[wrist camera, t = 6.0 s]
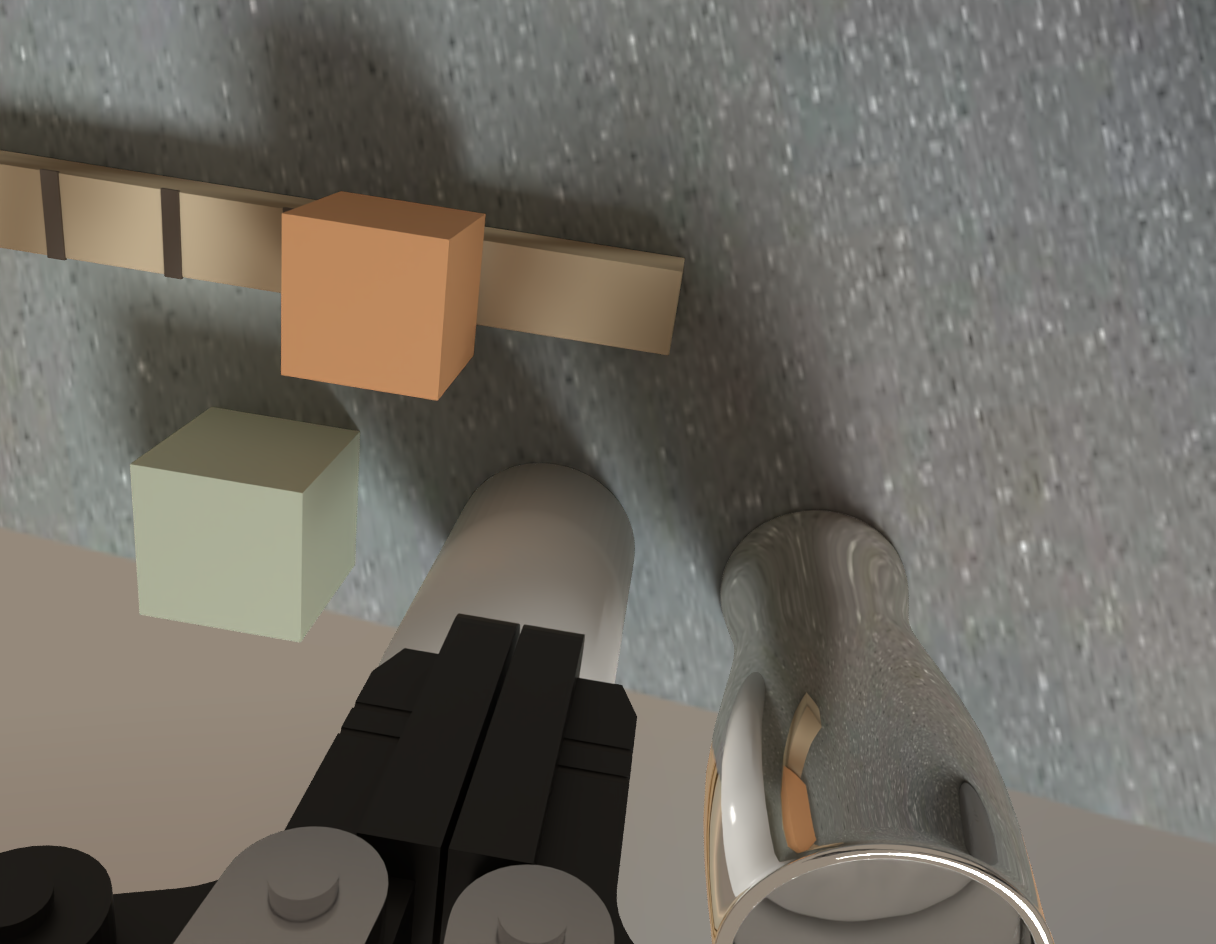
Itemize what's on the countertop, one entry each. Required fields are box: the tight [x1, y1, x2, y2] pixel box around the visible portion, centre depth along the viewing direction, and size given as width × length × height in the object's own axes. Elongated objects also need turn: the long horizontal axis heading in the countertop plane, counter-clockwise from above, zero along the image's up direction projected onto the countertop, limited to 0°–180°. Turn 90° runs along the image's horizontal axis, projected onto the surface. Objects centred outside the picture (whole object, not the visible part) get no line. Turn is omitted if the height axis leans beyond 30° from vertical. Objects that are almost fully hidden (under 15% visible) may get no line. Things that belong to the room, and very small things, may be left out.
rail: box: [0, 150, 685, 355], centre depth 29 cm, size 22×2×2 cm, turn 82°
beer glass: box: [703, 510, 1055, 944], centre depth 26 cm, size 7×7×15 cm
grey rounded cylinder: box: [379, 463, 635, 684], centre depth 29 cm, size 6×6×9 cm
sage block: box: [130, 407, 360, 642], centre depth 31 cm, size 5×5×5 cm
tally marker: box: [281, 191, 486, 401], centre depth 26 cm, size 4×4×4 cm
